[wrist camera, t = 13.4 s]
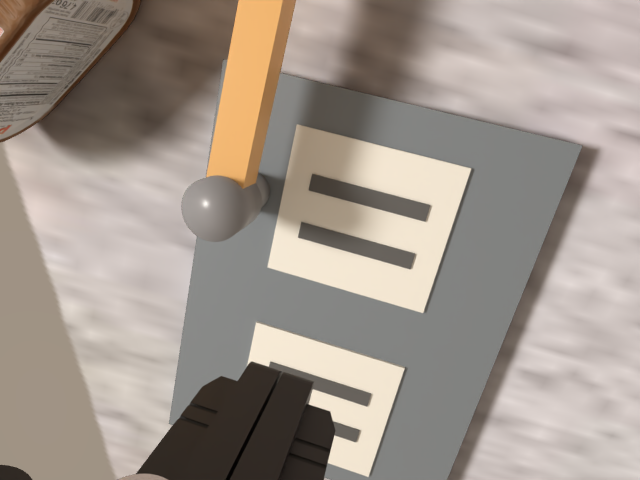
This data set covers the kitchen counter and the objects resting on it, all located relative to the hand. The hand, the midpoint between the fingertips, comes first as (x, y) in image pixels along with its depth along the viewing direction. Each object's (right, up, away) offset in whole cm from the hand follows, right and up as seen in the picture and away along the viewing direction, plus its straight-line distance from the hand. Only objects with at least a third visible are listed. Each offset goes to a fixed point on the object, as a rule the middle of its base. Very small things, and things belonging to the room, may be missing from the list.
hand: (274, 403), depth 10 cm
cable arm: (-2, +13, +12) cm, 18 cm away
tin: (-14, +15, +19) cm, 28 cm away
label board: (+2, 0, +20) cm, 20 cm away
